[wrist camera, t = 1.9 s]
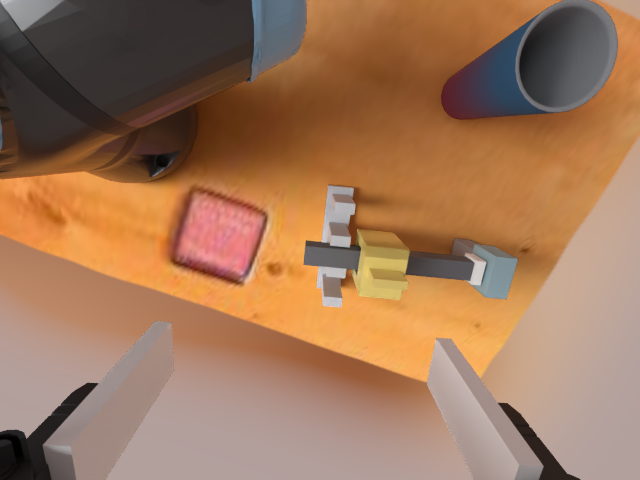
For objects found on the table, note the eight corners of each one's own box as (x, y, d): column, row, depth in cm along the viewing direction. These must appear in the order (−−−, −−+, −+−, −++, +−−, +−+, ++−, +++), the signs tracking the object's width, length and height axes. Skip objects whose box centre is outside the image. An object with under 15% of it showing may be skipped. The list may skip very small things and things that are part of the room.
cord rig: (301, 282, 41) (298, 318, 32) (311, 182, 38) (310, 192, 29) (457, 297, 42) (495, 336, 33) (481, 201, 39) (530, 216, 30)
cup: (459, 140, 37) (554, 134, 22) (420, 97, 35) (494, 60, 21) (506, 93, 35) (638, 55, 21) (467, 47, 34) (580, -29, 20)
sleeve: (351, 270, 36) (362, 308, 27) (357, 228, 35) (371, 254, 26) (385, 274, 36) (407, 312, 28) (392, 232, 35) (418, 259, 26)
